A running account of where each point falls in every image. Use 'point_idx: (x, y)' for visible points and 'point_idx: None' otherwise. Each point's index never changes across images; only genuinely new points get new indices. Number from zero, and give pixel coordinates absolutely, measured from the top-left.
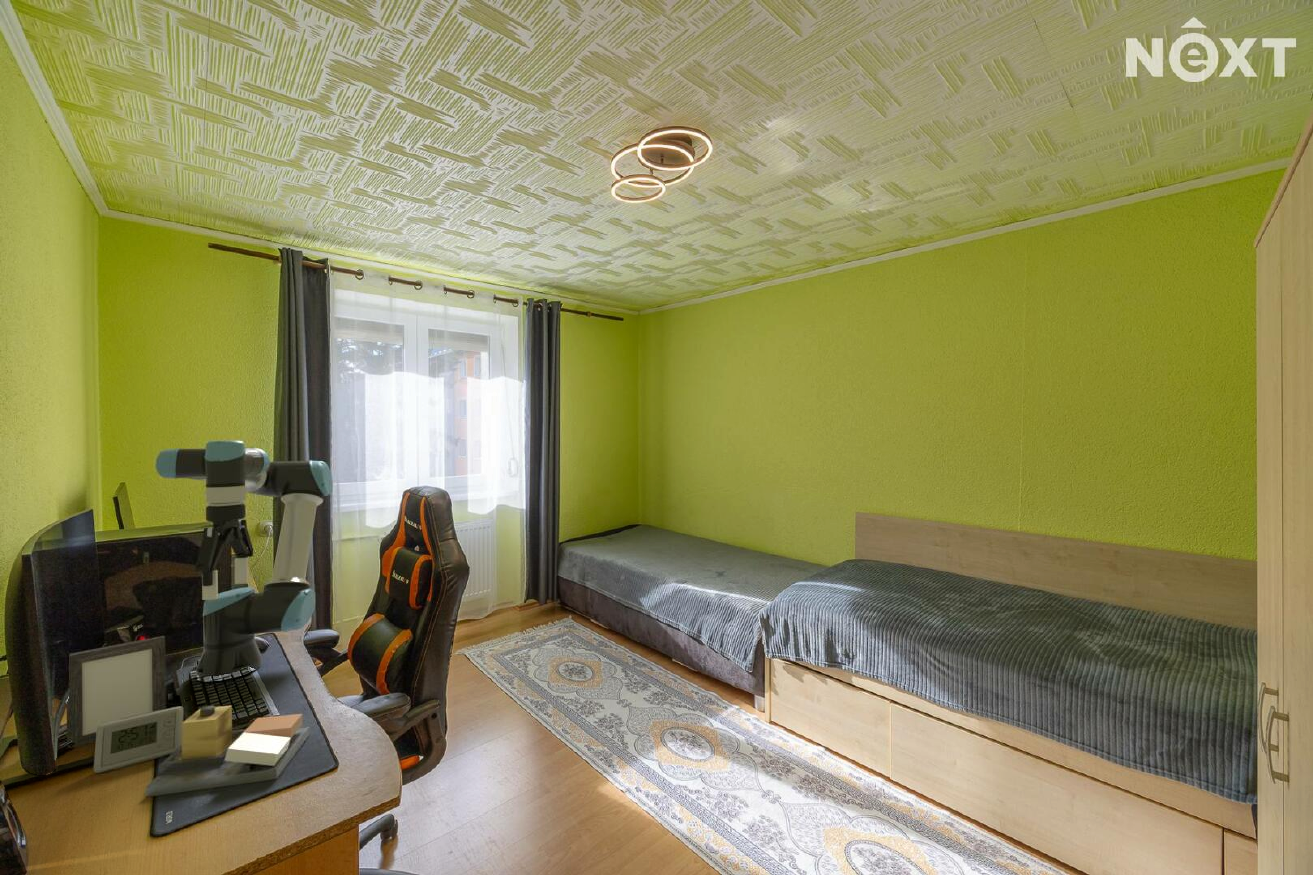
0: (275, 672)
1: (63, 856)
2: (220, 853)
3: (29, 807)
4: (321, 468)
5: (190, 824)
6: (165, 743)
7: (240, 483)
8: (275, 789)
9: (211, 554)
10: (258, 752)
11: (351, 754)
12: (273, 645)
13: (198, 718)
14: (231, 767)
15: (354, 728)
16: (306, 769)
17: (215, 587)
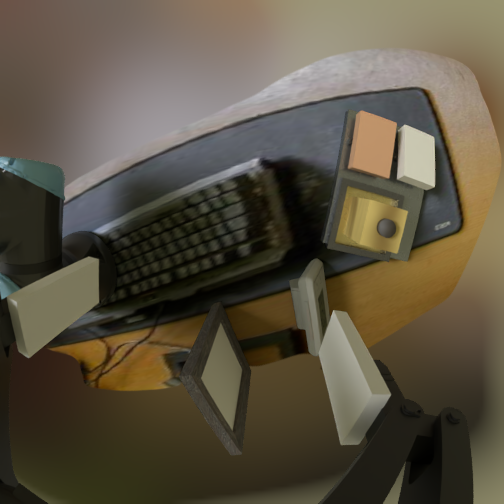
0: (99, 206)
1: (450, 285)
2: (492, 176)
3: None
4: None
5: (459, 204)
6: (322, 276)
7: None
8: (440, 141)
9: (466, 481)
10: (434, 155)
11: (404, 74)
12: None
13: (393, 235)
14: (411, 185)
15: (347, 66)
16: (418, 114)
17: (360, 339)
